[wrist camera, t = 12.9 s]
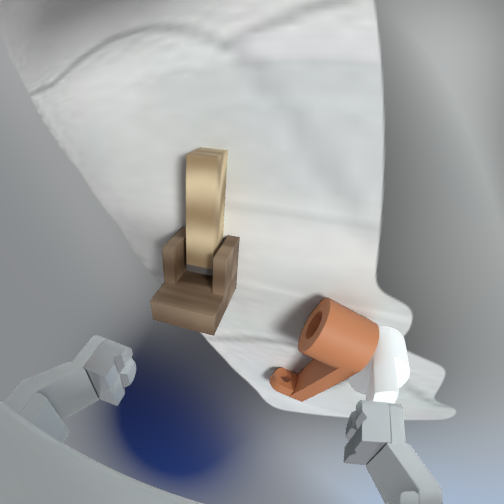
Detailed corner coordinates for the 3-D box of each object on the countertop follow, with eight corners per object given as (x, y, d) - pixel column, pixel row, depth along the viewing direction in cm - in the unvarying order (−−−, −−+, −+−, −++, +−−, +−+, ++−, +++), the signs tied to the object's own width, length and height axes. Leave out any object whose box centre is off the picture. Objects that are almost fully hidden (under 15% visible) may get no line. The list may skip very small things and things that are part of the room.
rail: (199, 147, 36) (186, 154, 33) (227, 150, 36) (216, 157, 32) (197, 255, 44) (186, 270, 40) (222, 260, 43) (212, 276, 40)
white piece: (350, 326, 44) (350, 391, 34) (409, 325, 42) (422, 389, 31) (347, 366, 48) (344, 428, 38) (399, 365, 46) (406, 426, 35)
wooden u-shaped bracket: (182, 227, 42) (145, 265, 34) (239, 237, 41) (214, 280, 32) (183, 276, 46) (152, 319, 38) (236, 287, 45) (213, 335, 36)
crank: (331, 287, 42) (329, 326, 35) (376, 311, 42) (381, 351, 35) (265, 366, 52) (255, 402, 45) (304, 384, 52) (298, 420, 46)
